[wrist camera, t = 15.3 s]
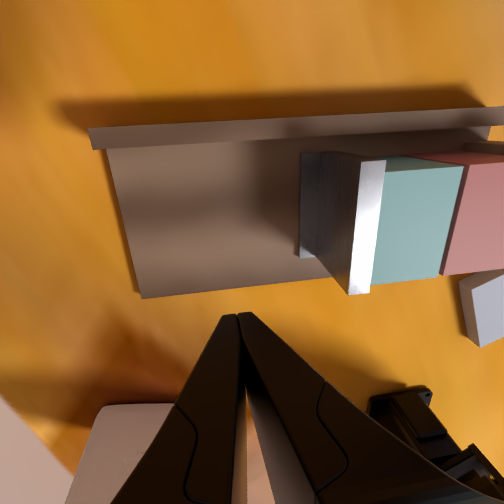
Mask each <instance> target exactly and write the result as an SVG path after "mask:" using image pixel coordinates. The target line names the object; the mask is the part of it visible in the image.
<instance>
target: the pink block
mask: <svg viewBox="0 0 504 504" xmlns="http://www.w3.org/2000/svg"><path fill="white" fill-rule="evenodd" d="M400 156H403V157H409V158H415V159H421V160H428V161H434V162H440V163H447V164H453V165H459V166H464V168H463V172H462V176H461V180H460V184H459V189H458V193H457V197H456V201H455V206H454V210H453V214H452V218H451V222H450V227H449V231H448V235H447V239H446V244H445V248H444V252H443V256H442V260H441V265H440V269H439V274H441V275H442V276H447V275H455V274H463V273H471V272H480V271H488V270H496V269H504V155H496V154H486V153H476V152H466V151H443V152H429V153H415V154H400Z"/></svg>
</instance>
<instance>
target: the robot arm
mask: <svg viewBox="0 0 504 504" xmlns="http://www.w3.org/2000/svg"><path fill="white" fill-rule="evenodd" d="M245 387H246V388H245ZM246 393H247V397H248V401H249V405H250V409H251V413H252V417H253V420H254V424H255V428H256V432H257V436H258V439H259V443H260V447H261V451H262V455H263V458H264V462H265V466H266V470H267V473H268V477H269V480H270V485H271V489H272V492H273V496H274V500H275V504H504V478H503V477H502V476H501V474H500V473H499V472H498V471H497V470H496V469H495V468H494V466H493V465H492V464H491V463H490V462H489V461H488V459H487V458H486V457H485V456H484V455H483V454H482V453H481V451H480V450H479V449H478V448H477V447H476V446H475V444H474V443H472V444H471V445H469V446H468V448H467V449H465V450H463V451H462V450H461V449H460V448H459V446H458V445H457V444H456V443H455V441H454V440H453V439H452V438H451V436H450V435H449V434H448V432H447V429H446V428H445V427H444V425H443V424H442V423H441V422H440V420H439V419H438V418H437V417H436V415H435V414H434V413H433V412H432V410H431V409H430V408H429V405H430V401H431V398H432V392H431V390H430V389H429V388H424V389H418V390H412V391H406V392H400V393H394V394H388V395H382V396H376V397H372V398H371V399H370V400H369V404H368V410H367V414H366V413H364V412H363V411H362V410H360V409H359V408H358V407H357V406H355V405H354V404H353V403H352V402H351V401H350V400H348V399H347V398H346V397H345V396H344V395H343V394H341V393H340V392H339V391H338V390H337V389H336V388H335V387H334V386H333V385H331V384H330V383H329V382H328V381H326V380H325V378H324V377H322V376H321V375H320V374H319V373H318V372H317V371H316V370H315V369H314V368H313V367H312V366H310V365H309V364H308V363H307V362H306V361H305V360H304V359H303V358H302V357H301V356H299V355H298V354H297V353H296V352H295V351H294V350H293V349H292V348H291V347H290V346H288V345H287V344H286V343H285V342H284V341H283V340H282V339H281V338H280V337H279V336H278V335H276V334H275V333H274V332H273V331H272V330H271V329H270V328H269V327H268V326H267V325H265V324H264V323H263V322H262V321H261V320H260V319H259V318H258V317H257V316H256V315H254V314H253V313H252V312H243V313H238V315H236V314H228V315H223V316H222V317H221V319H220V321H219V322H218V324H217V326H216V328H215V330H214V332H213V333H212V335H211V337H210V339H209V341H208V342H207V344H206V346H205V348H204V350H203V352H202V353H201V355H200V357H199V359H198V361H197V363H196V364H195V366H194V368H193V370H192V372H191V373H190V375H189V377H188V379H187V381H186V383H185V384H184V386H183V388H182V390H181V392H180V394H179V395H178V397H177V399H176V401H175V403H174V406H172V408H171V410H170V411H169V413H168V415H167V417H166V419H165V421H164V422H163V424H162V426H161V427H160V429H159V431H158V433H157V434H156V436H155V438H154V439H153V441H152V443H151V444H150V446H149V447H148V449H147V450H146V452H145V453H144V455H143V456H142V458H141V459H140V461H139V462H138V464H137V465H136V467H135V468H134V470H133V471H132V473H131V474H130V475H129V477H128V478H127V480H126V481H125V483H124V484H123V485H122V487H121V488H120V490H119V491H118V493H117V494H116V496H115V497H114V498H113V500H112V501H111V503H110V504H247V425H246ZM490 477H491V478H492V479H491V478H490Z"/></svg>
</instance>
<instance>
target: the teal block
mask: <svg viewBox="0 0 504 504" xmlns="http://www.w3.org/2000/svg"><path fill="white" fill-rule="evenodd" d="M373 158H378V159H383V160H386V168H385V175H384V183H383V190H382V198H381V206H380V213H379V221H378V228H377V236H376V243H375V251H374V259H373V266H372V274H371V281H370V285H377V284H385V283H394V282H402V281H410V280H418V279H427V278H435V277H438V273H439V269H440V265H441V260H442V256H443V252H444V248H445V244H446V239H447V235H448V231H449V227H450V222H451V218H452V214H453V210H454V206H455V201H456V197H457V193H458V189H459V184H460V180H461V176H462V172H463V168H464V166H459V165H453V164H447V163H440V162H434V161H428V160H421V159H415V158H409V157H403V156H396V155H394V156H380V157H373Z"/></svg>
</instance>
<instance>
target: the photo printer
mask: <svg viewBox="0 0 504 504" xmlns="http://www.w3.org/2000/svg"><path fill="white" fill-rule="evenodd" d="M172 406H174V403H161V404H122V405H110V406H104V407H103V408H101V410H100V411H99V413H98V414H97V416H96V419H95V421H94V424H93V427H92V430H91V432H90V435H89V438H88V441H87V443H86V446H85V449H84V451H83V454H82V457H81V460H80V462H79V465H78V468H77V471H76V474H75V476H74V479H73V482H72V485H71V488H70V491H69V493H68V496H67V499H66V501H65V504H110V503H111V501H112V500H113V498H114V497H115V496H116V494H117V493H118V491H119V490H120V488H121V487H122V485H123V484H124V483H125V481H126V480H127V478H128V477H129V475H130V474H131V473H132V471H133V470H134V468H135V467H136V465H137V464H138V462H139V461H140V459H141V458H142V456H143V455H144V453H145V452H146V450H147V449H148V447H149V446H150V444H151V443H152V441H153V439H154V438H155V436H156V434H157V433H158V431H159V429H160V427H161V426H162V424H163V422H164V421H165V419H166V417H167V415H168V413H169V411H170V410H171V408H172Z"/></svg>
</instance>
